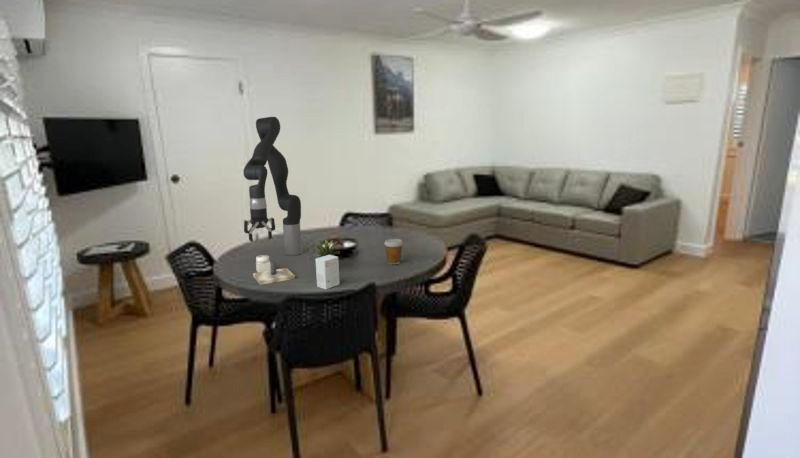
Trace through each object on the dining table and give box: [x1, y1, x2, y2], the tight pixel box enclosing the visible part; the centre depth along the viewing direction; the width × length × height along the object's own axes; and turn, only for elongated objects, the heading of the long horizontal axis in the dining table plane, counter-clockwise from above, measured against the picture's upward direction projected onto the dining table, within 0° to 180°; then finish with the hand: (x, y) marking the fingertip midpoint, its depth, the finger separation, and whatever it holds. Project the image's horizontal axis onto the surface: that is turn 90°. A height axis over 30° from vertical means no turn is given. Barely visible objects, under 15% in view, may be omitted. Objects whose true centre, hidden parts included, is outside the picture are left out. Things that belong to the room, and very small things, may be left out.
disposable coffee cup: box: [383, 238, 404, 263], centre depth 228 cm, size 10×10×12 cm
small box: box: [315, 254, 340, 290], centre depth 196 cm, size 8×6×13 cm
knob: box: [255, 254, 271, 273], centre depth 218 cm, size 6×6×8 cm
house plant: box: [315, 238, 341, 258], centre depth 214 cm, size 14×14×16 cm
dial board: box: [252, 261, 296, 286], centre depth 209 cm, size 16×14×8 cm
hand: (260, 240), depth 215 cm, fingers open, 8 cm apart
